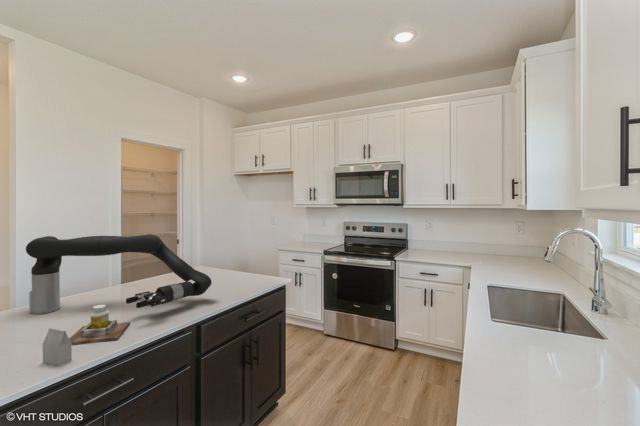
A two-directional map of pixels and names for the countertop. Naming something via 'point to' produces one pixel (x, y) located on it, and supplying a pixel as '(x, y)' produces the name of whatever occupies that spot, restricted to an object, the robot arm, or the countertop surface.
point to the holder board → (99, 333)
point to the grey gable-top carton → (56, 347)
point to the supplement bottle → (99, 317)
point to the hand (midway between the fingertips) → (131, 303)
